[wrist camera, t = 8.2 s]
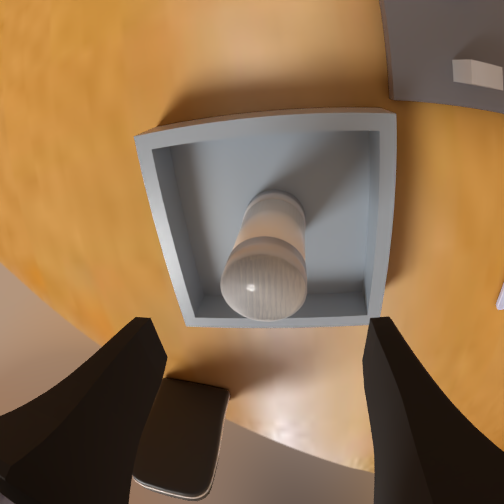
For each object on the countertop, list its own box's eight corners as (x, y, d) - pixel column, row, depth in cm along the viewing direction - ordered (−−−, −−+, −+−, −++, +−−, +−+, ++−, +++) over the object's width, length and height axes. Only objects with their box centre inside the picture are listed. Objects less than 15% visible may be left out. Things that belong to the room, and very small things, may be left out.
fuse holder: (504, -18, 7) (529, -25, 5) (518, 115, 12) (545, 125, 10) (368, -53, 9) (380, -73, 7) (389, 98, 13) (407, 103, 11)
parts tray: (380, 107, 14) (396, 113, 11) (371, 296, 20) (378, 324, 18) (156, 126, 16) (133, 136, 14) (196, 299, 22) (186, 326, 20)
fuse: (306, 190, 16) (309, 254, 11) (304, 244, 18) (304, 323, 13) (243, 189, 17) (216, 251, 11) (246, 242, 18) (224, 318, 13)
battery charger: (166, 394, 30) (133, 488, 20) (160, 374, 28) (121, 477, 18) (231, 407, 29) (210, 508, 20) (232, 387, 27) (207, 500, 18)
